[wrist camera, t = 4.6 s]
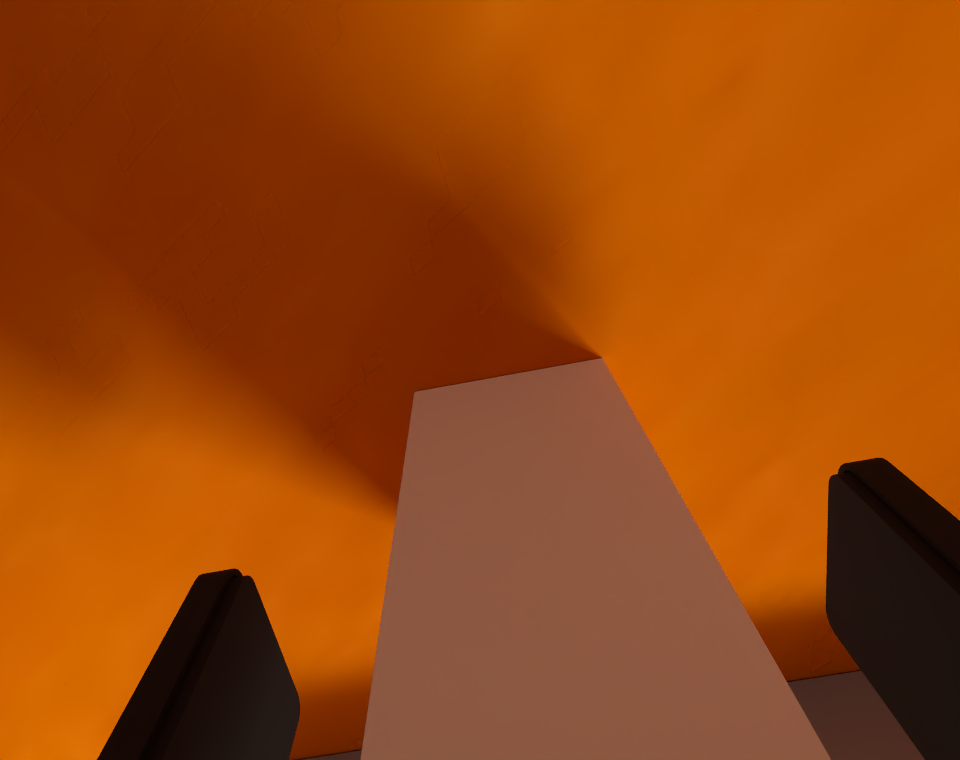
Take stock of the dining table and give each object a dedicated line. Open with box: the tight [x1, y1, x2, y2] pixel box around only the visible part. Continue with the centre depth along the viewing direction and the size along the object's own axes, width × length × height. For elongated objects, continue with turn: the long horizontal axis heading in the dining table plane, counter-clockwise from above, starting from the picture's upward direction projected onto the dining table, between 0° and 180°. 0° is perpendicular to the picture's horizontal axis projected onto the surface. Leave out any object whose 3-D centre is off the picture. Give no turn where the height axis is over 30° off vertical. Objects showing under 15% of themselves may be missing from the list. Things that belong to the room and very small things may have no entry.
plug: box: [361, 358, 831, 760], centre depth 9 cm, size 4×4×12 cm
